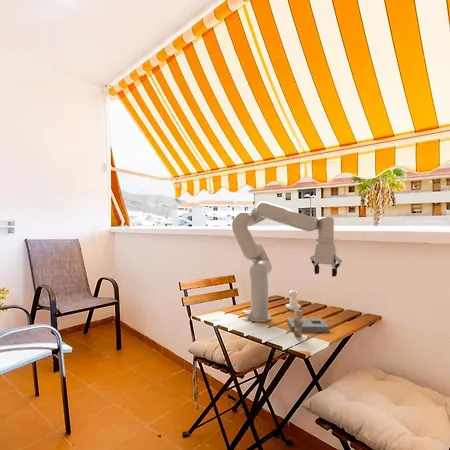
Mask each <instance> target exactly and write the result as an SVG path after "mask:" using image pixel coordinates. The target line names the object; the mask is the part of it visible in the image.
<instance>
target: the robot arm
mask: <svg viewBox="0 0 450 450" xmlns="http://www.w3.org/2000/svg"><path fill="white" fill-rule="evenodd" d="M264 220H270V221H273V222H277V223H279V224H283V225H286V226H290V227H292V228H294V229H295V228H296V229H299V230H302V231H305V232H314V231H317V238H316V239H315V240H316V242H317V243H316V244H315V249H314V254H313V255H311V256H310V258H309V259H310V261H311V264H312V265H313V267H314V268H313V269H314V275H318V274H320V264H322V265H331V267H332V268H331V276H332V278H333V277H337V274H338V268H339V267H340V266H341V265H342V262H343V260H342V259H341V258H339V257H338V256H337V250H336V249H337V248H336V245H335V244H334V238H335V236H334V235H335V232H334V231H335V220H334V217H332V216H320V217H319V216H311V215H310V216H309V215H307V214H303V213H300V212H296V211H293V210H292V209H290V208H288V207H284V206H282V205H277V204H273V203H270V202H268V201H259V203H257V204H256V206H255V208H252V209H251V210H242V211H239V212H238V213H237V214H236V215H234V217H233V219H232V222H231V227H232V232H233V234H234V237H235V239H236V241H237V243H238V246H239V248H240V250H241V252H242V254H243V257H244V258H245V259H246V260H249V261H251V263H252V264H251V266H250V268H249V278H250V279H249V280H250V309H249V310H242V315H244V316H247V319H248V320H250V321H251V322H255V323H265V322H269V321H271V320H272V316H271V315H270V314H269V280H268V275H270V273H271V272H272V263H271V261H270V259H269V257H268V254H267V252H266V250H265V249H264V247H263V245H262V244H261V243H259V242H257V241H255V240H254V238H253V235H252V233H251V231H250V230H249V228H248V227H250V226H254V225H256V224H258V223H260V222H263V221H264Z"/></svg>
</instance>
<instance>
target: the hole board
mask: <svg viewBox="0 0 450 450" xmlns="http://www.w3.org/2000/svg"><path fill="white" fill-rule="evenodd" d="M286 323H287V325H288V327H289V329H290V331H291V332H292V333H295V326H294V317H287V318H286ZM302 333H330V326H329V325H328V323H327V322H326V321H325V320H324V319H323V318H322V317H302Z"/></svg>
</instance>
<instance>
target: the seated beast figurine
mask: <svg viewBox="0 0 450 450" xmlns="http://www.w3.org/2000/svg"><path fill="white" fill-rule="evenodd" d="M298 293H299V292H298V291H297V290H295V289H291V290H290V291H288V292H287V294H288V295H289V297H290V298H289V303H286V304H285V309H287V310H290V311H293V312H294V310H301V308H302V305H301V304H299V301H298V298H297V295H298Z"/></svg>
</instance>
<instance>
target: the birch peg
mask: <svg viewBox="0 0 450 450" xmlns="http://www.w3.org/2000/svg"><path fill="white" fill-rule="evenodd" d="M293 312H294V313H293V318H294V326H295V332H294V336H295V337H294V338H302V336H303V335H302V333H303V332H302V318H303V310H302V309H298V310H294V311H293Z"/></svg>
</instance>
